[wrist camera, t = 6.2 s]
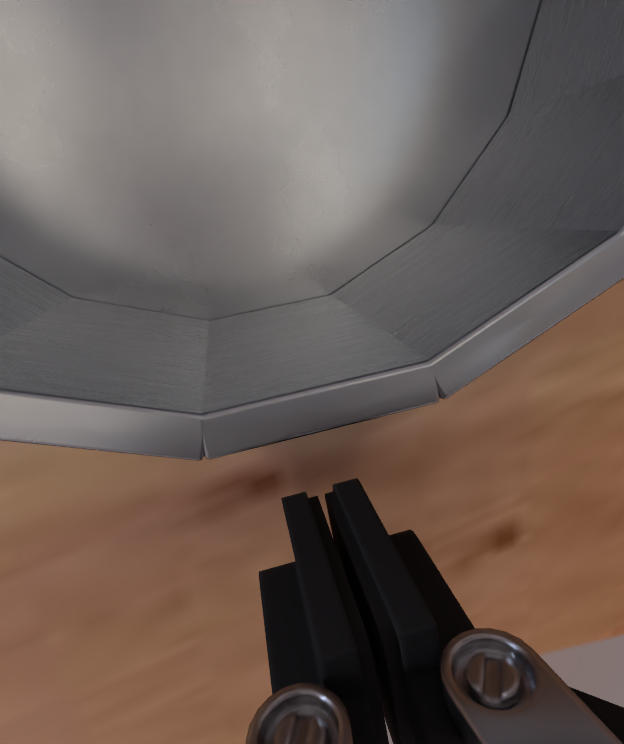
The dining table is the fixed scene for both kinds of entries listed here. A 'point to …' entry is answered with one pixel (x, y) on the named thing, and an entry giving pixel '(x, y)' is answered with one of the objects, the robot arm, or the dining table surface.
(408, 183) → the steel pot
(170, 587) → the dining table surface
